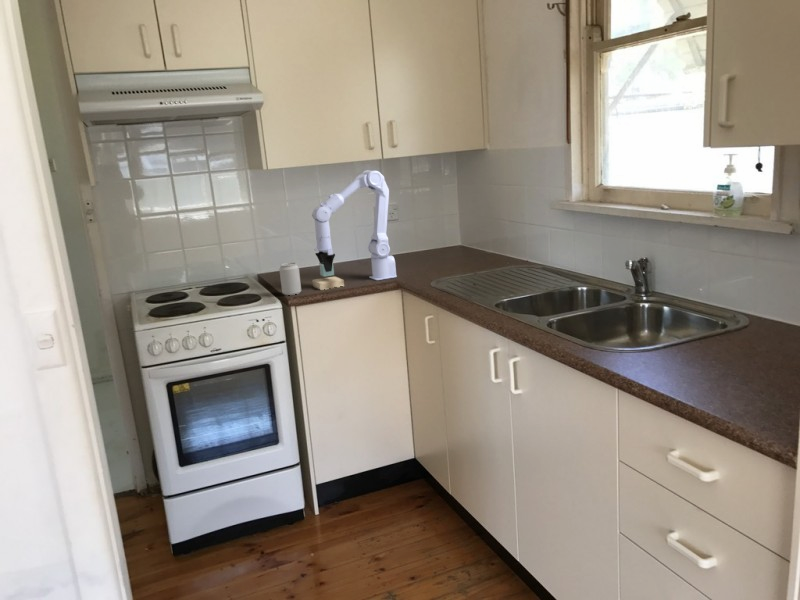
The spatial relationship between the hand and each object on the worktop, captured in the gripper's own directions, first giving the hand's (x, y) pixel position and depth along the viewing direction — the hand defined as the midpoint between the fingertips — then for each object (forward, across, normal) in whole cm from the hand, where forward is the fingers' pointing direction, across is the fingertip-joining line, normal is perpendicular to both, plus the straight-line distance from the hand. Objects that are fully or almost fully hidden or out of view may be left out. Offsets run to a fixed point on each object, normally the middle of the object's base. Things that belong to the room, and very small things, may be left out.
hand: (326, 270), depth 265 cm
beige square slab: (+7, 0, 0) cm, 7 cm away
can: (+7, +3, -16) cm, 18 cm away
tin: (+2, 0, 0) cm, 2 cm away
